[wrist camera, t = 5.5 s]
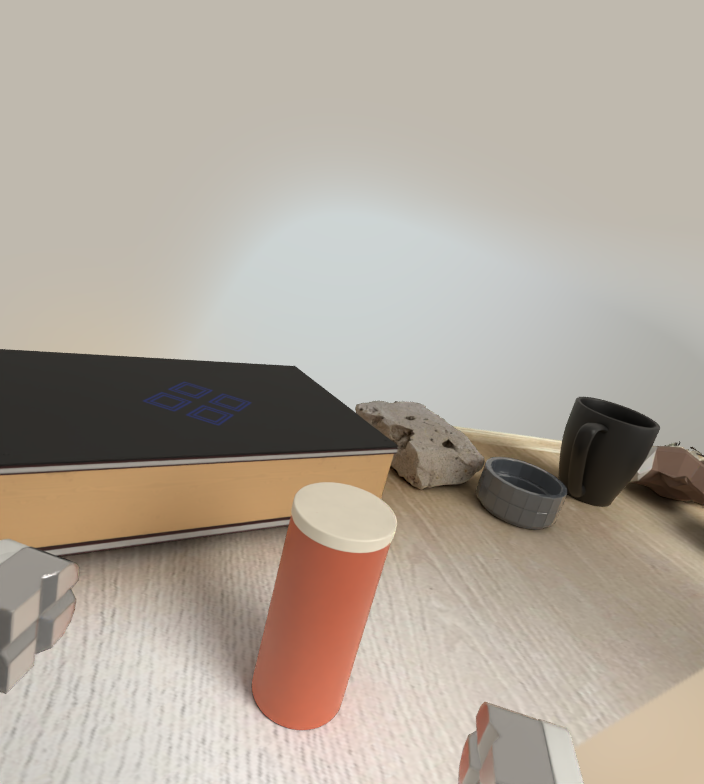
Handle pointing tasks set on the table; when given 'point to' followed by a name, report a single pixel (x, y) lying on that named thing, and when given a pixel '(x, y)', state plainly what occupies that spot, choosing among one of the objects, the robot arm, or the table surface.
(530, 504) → the bowl
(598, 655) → the table surface
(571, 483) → the mug
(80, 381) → the book
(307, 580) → the canister
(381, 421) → the stone
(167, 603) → the table surface
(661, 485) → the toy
